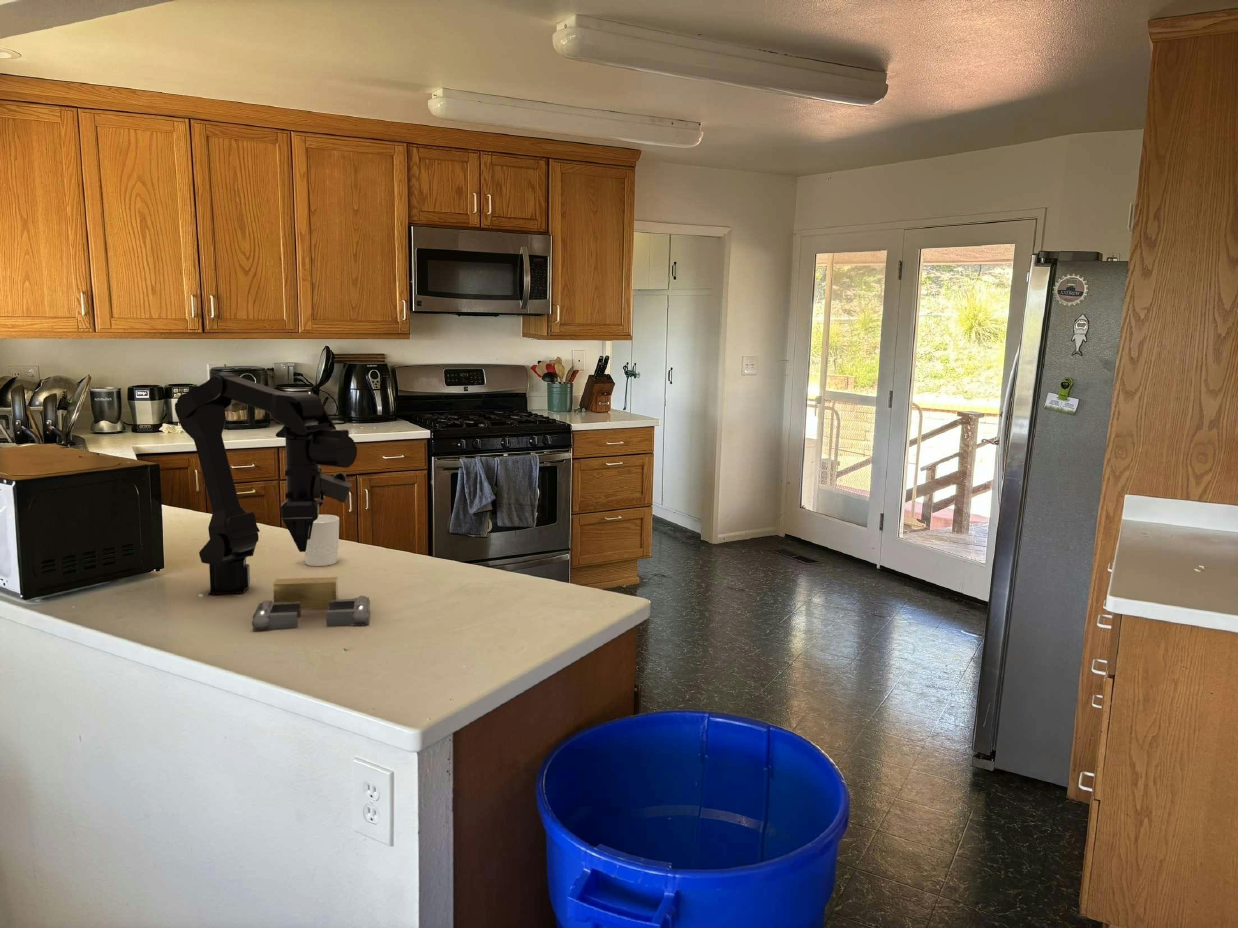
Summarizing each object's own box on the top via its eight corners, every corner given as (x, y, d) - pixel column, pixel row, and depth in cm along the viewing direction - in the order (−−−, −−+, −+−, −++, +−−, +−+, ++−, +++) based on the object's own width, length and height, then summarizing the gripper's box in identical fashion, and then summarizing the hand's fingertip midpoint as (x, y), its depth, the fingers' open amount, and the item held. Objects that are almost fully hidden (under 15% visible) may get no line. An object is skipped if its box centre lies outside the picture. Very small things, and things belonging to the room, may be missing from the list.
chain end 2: (370, 609, 162) (369, 595, 161) (368, 624, 154) (368, 609, 153) (329, 611, 160) (329, 597, 159) (326, 627, 152) (326, 612, 151)
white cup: (301, 559, 194) (299, 515, 192) (337, 556, 197) (336, 513, 196) (304, 568, 187) (303, 523, 185) (342, 565, 190) (341, 521, 189)
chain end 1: (252, 631, 149) (251, 615, 148) (259, 615, 157) (258, 600, 156) (296, 628, 151) (295, 613, 150) (301, 613, 159) (300, 598, 158)
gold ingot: (274, 610, 161) (273, 584, 160) (276, 604, 164) (276, 578, 163) (336, 607, 163) (335, 582, 162) (337, 602, 166) (337, 576, 165)
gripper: (346, 470, 152) (347, 556, 155) (350, 454, 170) (352, 532, 173) (278, 471, 149) (281, 559, 152) (290, 455, 167) (292, 534, 170)
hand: (305, 545), depth 162 cm, fingers open, 9 cm apart
